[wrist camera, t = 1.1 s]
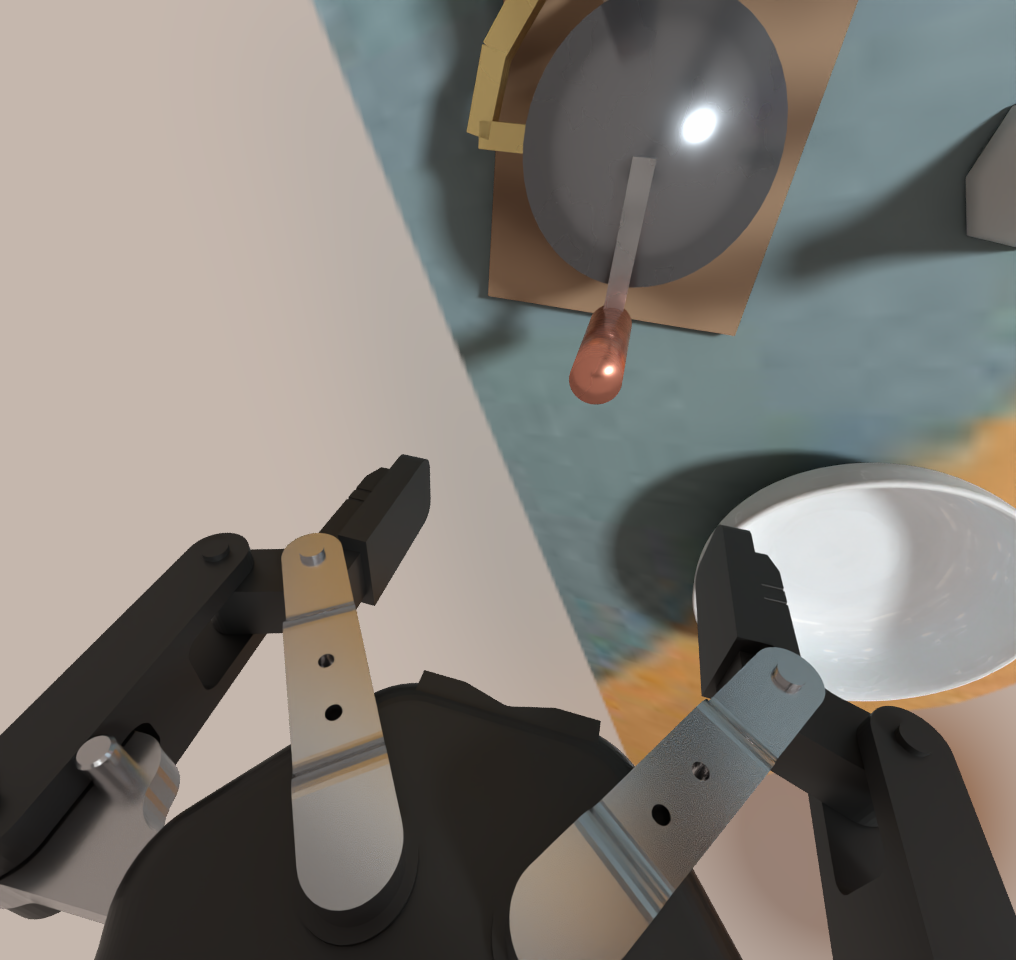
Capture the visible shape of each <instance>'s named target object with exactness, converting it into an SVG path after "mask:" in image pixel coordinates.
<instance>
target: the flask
mask: <svg viewBox="0 0 1016 960" xmlns="http://www.w3.org/2000/svg"><path fill="white" fill-rule="evenodd" d="M966 220H967V236H971V237H975V238H979V239H983V240H988V241H992V242H996V243H1000V244H1004V245H1008V246H1013V247H1016V105H1014V106H1012V107H1011V109H1010V111H1009V112H1008V114H1007V115H1006V117H1005V118H1004V120H1003V121H1002V123H1001V124H1000V126H999V127H998V129H997V130H996V132H995V133H994V135H993V136H992V138H991V140H990V141H989V143H988V144H987V146H986V147H985V149H984V150H983V152H982V153H981V155H980V156H979V158H978V159H977V161H976V162H975V164H974V165H973V167H972V169H971V170H970V172H969V173H968V175H967V176H966Z"/></svg>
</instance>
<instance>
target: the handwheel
mask: <svg viewBox="0 0 1016 960" xmlns="http://www.w3.org/2000/svg"><path fill="white" fill-rule="evenodd" d="M545 2H546V0H505V2H504V4H503V6H502V8H501V10H500V12H499V13H498V15H497V17H496V19H495V21H494V23H493V25H492V26H491V28H490V30H489V32H488V34H487V36H486V38H485V39H484V41H483V42H484V43H485V44H486V45H487V46H486V45H484V44H482V49H481V54H480V60H479V65H478V71H477V77H476V82H475V88H474V93H473V99H472V104H471V110H470V116H469V121H468V127H467V133H470V134H473V135H476V136H478V137H479V149H486V150H495V151H504V152H512V153H521V154H523V172H524V182H525V187H526V192H527V197H528V201H529V204H530V207H531V210H532V213H533V216H534V218H535V220H536V222H537V224H538V227H539V229H540V230H541V232H542V234H543V235H544V237H545V239H546V240H547V242H548V243H549V244H550V245H551V247H552V248H553V249H554V250H555V252H556V253H557V254H558V255H559V256H560V257H561V258H562V259H563V260H564V261H565V262H566V263H568V264H569V265H570V266H572V267H573V268H574V269H576V270H577V271H579V272H580V273H582V274H584V275H586V276H588V277H590V278H592V279H594V280H597V281H600V282H602V283H605V284H608V288H607V293H606V298H605V303H604V306H602V307H600V308H598V309H597V310H596V311H595V312H594V313H593V315H592V317H591V319H590V322H589V324H588V327H587V330H586V332H585V335H584V338H583V340H582V343H581V346H580V348H579V351H578V353H577V356H576V359H575V361H574V364H573V367H572V369H571V372H570V376H569V383H570V387H571V390H572V392H573V393H574V394H575V395H576V397H578V398H579V399H580V400H582V401H584V402H586V403H589V404H603V403H606V402H608V401H610V400H612V399H613V398H614V397H615V396H616V395H617V394H618V392H619V391H620V389H621V386H622V380H623V374H624V368H625V362H626V357H627V351H628V345H629V339H630V333H631V327H632V321H631V317H630V315H629V313H628V312H627V311H626V310H625V309H624V306H625V301H626V297H627V292H628V287H631V288H636V287H650V286H656V285H661V284H665V283H668V282H672V281H675V280H678V279H680V278H683V277H685V276H687V275H689V274H691V273H694V272H695V271H697V270H699V269H700V268H702V267H704V266H705V265H707V264H709V263H710V262H711V261H712V260H714V259H715V258H716V257H718V256H719V255H720V254H722V253H723V252H724V251H725V250H726V249H727V248H728V247H729V246H730V245H731V244H732V243H733V242H734V241H736V239H737V238H738V237H739V236H740V235H741V234H742V232H743V231H744V230H745V229H746V228H747V227H748V225H749V224H750V222H751V221H752V219H753V218H754V217H755V215H756V214H757V212H758V211H759V209H760V207H761V206H762V204H763V202H764V200H765V198H766V196H767V195H768V193H769V191H770V188H771V186H772V183H773V181H774V179H775V176H776V174H777V171H778V168H779V164H780V161H781V157H782V154H783V150H784V144H785V138H786V132H787V118H788V101H787V88H786V82H785V78H784V73H783V68H782V64H781V62H780V59H779V56H778V54H777V51H776V48H775V46H774V44H773V42H772V40H771V38H770V37H769V35H768V33H767V31H766V29H765V28H764V27H763V25H762V24H761V23H760V22H759V20H758V19H757V18H756V17H755V15H754V14H753V13H752V12H751V11H750V10H749V9H748V8H747V7H745V6H744V5H743V4H742V3H741V2H740V1H738V0H608V1H606V2H604V3H603V4H602V5H600V6H599V7H598V8H596V9H595V10H594V11H592V12H591V13H590V14H588V15H587V16H586V17H585V18H584V19H583V20H582V21H581V22H580V23H579V24H578V25H577V26H576V27H575V28H574V29H573V30H572V31H571V32H570V33H569V35H568V36H567V37H566V38H565V40H564V41H563V42H562V43H561V45H560V46H559V47H558V48H557V50H556V52H555V53H554V55H553V56H552V58H551V60H550V61H549V63H548V64H547V66H546V68H545V70H544V72H543V74H542V77H541V79H540V81H539V83H538V85H537V88H536V90H535V93H534V96H533V99H532V102H531V104H530V108H529V113H528V117H527V121H526V124H521V123H512V122H502V121H499V117H500V112H501V108H502V103H503V98H504V93H505V89H506V84H507V79H508V75H509V70H510V65H511V60H512V59H513V57H514V55H515V54H516V52H517V50H518V48H519V47H520V45H521V43H522V42H523V40H524V38H525V36H526V35H527V33H528V31H529V29H530V28H531V26H532V24H533V23H534V21H535V19H536V17H537V16H538V14H539V12H540V11H541V9H542V7H543V5H544V4H545Z"/></svg>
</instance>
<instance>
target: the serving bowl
mask: <svg viewBox="0 0 1016 960" xmlns="http://www.w3.org/2000/svg"><path fill="white" fill-rule="evenodd" d="M719 524H721V525H726V526H730V527H735V528H739V529H744V530H748V531H750V532H751V535H752V539H753V544H754V549H755V552H757V553H762V554H766V555H768V556H769V558H770V559H771V560H772V562H773V563H774V564H775V566H776V567H777V568H778V570H779V571H780V575H781V579H782V583H783V587H784V589H783V591H785V595H786V599H787V605H788V607H789V611H790V615H791V619H792V623H793V627H794V631H795V635H796V639H797V643H798V647H799V651H800V655H801V657H802V658H804V659H805V660H806V661H807V662H808V663H810V664H811V665H812V666H813V667H814V668H815V670H816V671H817V672H818V674H819V675H820V677H821V679H822V681H823V683H824V687H825V688H826V689H827V690H829V691H830V692H831V693H833V694H835V695H836V696H838V697H840V698H842V699H844V700H846V701H885V700H897V699H905V698H912V697H918V696H924V695H929V694H934V693H938V692H942V691H946V690H950V689H953V688H956V687H959V686H962V685H965V684H968V683H971V682H973V681H976V680H978V679H981V678H983V677H985V676H987V675H989V674H991V673H993V672H995V671H997V670H999V669H1000V668H1002V667H1004V666H1006V665H1007V664H1009V663H1010V662H1012V661H1013V660H1015V659H1016V509H1015V508H1014V507H1012V506H1011V505H1009V504H1008V503H1006V502H1005V501H1003V500H1002V499H1000V498H999V497H997V496H995V495H994V494H992V493H990V492H988V491H986V490H985V489H983V488H980V487H978V486H976V485H974V484H972V483H970V482H967V481H965V480H962V479H960V478H957V477H954V476H951V475H948V474H945V473H942V472H938V471H934V470H930V469H926V468H921V467H916V466H910V465H902V464H891V463H853V464H842V465H835V466H829V467H823V468H818V469H814V470H810V471H806V472H802V473H799V474H796V475H793V476H790V477H787V478H785V479H782V480H780V481H778V482H775V483H773V484H771V485H769V486H767V487H765V488H763V489H761V490H759V491H758V492H756V493H755V494H753V495H751V496H750V497H748V498H747V499H745V500H744V501H743V502H741V503H740V504H739V505H738V506H736V507H735V508H734V509H733V510H732V511H731V512H730V513H729V514H728V515H727V516H726V517H725V518H724V519H723V520H722V521H721V522H720V523H719ZM715 529H716V528H715ZM714 531H715V530H714ZM714 531H713V533H714ZM713 533H712V534H711V536H710V537H709V539H708V541H707V542H706V544H705V546H704V548H703V550H702V553H701V555H700V558H699V561H698V564H697V568H696V573H695V578H694V585H693V596H692V602H693V611H694V615H695V619H696V622H697V608H696V592H695V582H696V575H697V570H698V567H699V564H700V562H701V560H702V557H703V555H704V553H705V551H706V549H707V546H708V544H709V542H710V540H711V537H712V535H713Z"/></svg>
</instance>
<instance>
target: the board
mask: <svg viewBox="0 0 1016 960" xmlns="http://www.w3.org/2000/svg"><path fill="white" fill-rule="evenodd" d="M738 1H740V2H741V3H742V4H743V5H744V6H745V7H747V8H748V9H749V10H750V11H751V12H752V13H753V14H754V15H755V17H756V18H757V19H758V20H759V22H760V23H761V24H762V25H763V27H764V28H765V29H766V31H767V33H768V35H769V37H770V38H771V40H772V42H773V44H774V46H775V48H776V51H777V54H778V56H779V59H780V62H781V64H782V68H783V73H784V78H785V82H786V88H787V101H788V118H787V132H786V138H785V144H784V150H783V154H782V157H781V161H780V164H779V168H778V171H777V174H776V176H775V179H774V181H773V183H772V186H771V188H770V191H769V193H768V195H767V196H766V198H765V200H764V202H763V204H762V206H761V207H760V209H759V211H758V212H757V214H756V215H755V217H754V218H753V219H752V221H751V222H750V224H749V225H748V227H747V228H746V229H745V230H744V231H743V232H742V234H741V235H740V236H739V237H738V238H737V239H736V241H734V242H733V243H732V244H731V245H730V246H729V247H728V248H727V249H726V250H725V251H724V252H723V253H722V254H720V255H719V256H718V257H716V258H715V259H714V260H712V261H711V262H710V263H709V264H707V265H705V266H704V267H702V268H700V269H699V270H697V271H695V272H694V273H691V274H689V275H687V276H685V277H683V278H680V279H678V280H675V281H672V282H668V283H665V284H661V285H656V286H650V287H636V288H631V287H628V292H627V297H626V301H625V306H624V309H625V310H626V311H627V312H628V313H629V315H630V317H631V319H634V320H640V321H646V322H652V323H658V324H665V325H671V326H677V327H683V328H689V329H695V330H702V331H708V332H714V333H720V334H726V335H732V336H735V334H736V331H737V328H738V326H739V323H740V320H741V318H742V315H743V312H744V309H745V307H746V304H747V301H748V299H749V296H750V293H751V290H752V288H753V285H754V282H755V279H756V277H757V274H758V271H759V269H760V266H761V263H762V260H763V258H764V255H765V252H766V250H767V247H768V244H769V241H770V239H771V236H772V233H773V231H774V228H775V225H776V222H777V220H778V217H779V214H780V212H781V209H782V206H783V203H784V201H785V198H786V195H787V193H788V190H789V187H790V184H791V182H792V179H793V176H794V173H795V171H796V168H797V165H798V163H799V160H800V157H801V154H802V152H803V149H804V146H805V144H806V141H807V138H808V135H809V133H810V130H811V127H812V125H813V122H814V119H815V116H816V114H817V111H818V108H819V106H820V103H821V100H822V97H823V95H824V92H825V89H826V87H827V84H828V81H829V78H830V76H831V73H832V70H833V67H834V65H835V62H836V59H837V57H838V54H839V51H840V48H841V46H842V43H843V40H844V38H845V35H846V32H847V29H848V27H849V24H850V21H851V19H852V16H853V13H854V10H855V8H856V5H857V2H858V0H738ZM504 2H505V0H503V4H504ZM603 3H604V2H603V0H546V2H545V4H544V5H543V7H542V9H541V11H540V12H539V14H538V16H537V17H536V19H535V21H534V23H533V24H532V26H531V28H530V29H529V31H528V33H527V35H526V36H525V38H524V40H523V42H522V43H521V45H520V47H519V48H518V50H517V52H516V54H515V55H514V57H513V59H512V60H511V65H510V70H509V75H508V79H507V84H506V89H505V93H504V98H503V103H502V108H501V112H500V117H499V121H502V122H512V123H521V124H526V121H527V117H528V113H529V108H530V104H531V102H532V99H533V96H534V93H535V90H536V88H537V85H538V83H539V81H540V79H541V77H542V74H543V72H544V70H545V68H546V66H547V64H548V63H549V61H550V60H551V58H552V56H553V55H554V53H555V52H556V50H557V48H558V47H559V46H560V45H561V43H562V42H563V41H564V40H565V38H566V37H567V36H568V35H569V33H570V32H571V31H572V30H573V29H574V28H575V27H576V26H577V25H578V24H579V23H580V22H581V21H582V20H583V19H584V18H585V17H586V16H587V15H588V14H590V13H591V12H592V11H594V10H595V9H596V8H598V7H599V6H600V5H602V4H603ZM607 288H608V284H605V283H602V282H600V281H597V280H594V279H592V278H590V277H588V276H586V275H584V274H582V273H580V272H579V271H577V270H576V269H574V268H573V267H572V266H570V265H569V264H568V263H566V262H565V261H564V260H563V259H562V258H561V257H560V256H559V255H558V254H557V253H556V252H555V250H554V249H553V248H552V247H551V245H550V244H549V243H548V242H547V240H546V239H545V237H544V235H543V234H542V232H541V230H540V229H539V227H538V224H537V222H536V220H535V218H534V216H533V213H532V210H531V207H530V204H529V201H528V197H527V192H526V187H525V182H524V172H523V154H521V153H512V152H504V151H496V152H495V172H494V191H493V210H492V230H491V249H490V268H489V288H488V296H492V297H498V298H504V299H510V300H517V301H523V302H529V303H535V304H541V305H547V306H554V307H560V308H566V309H572V310H578V311H584V312H591V313H594V312H595V311H596V310H597V309H598V308H600V307H602V306H604V303H605V298H606V293H607Z"/></svg>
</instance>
